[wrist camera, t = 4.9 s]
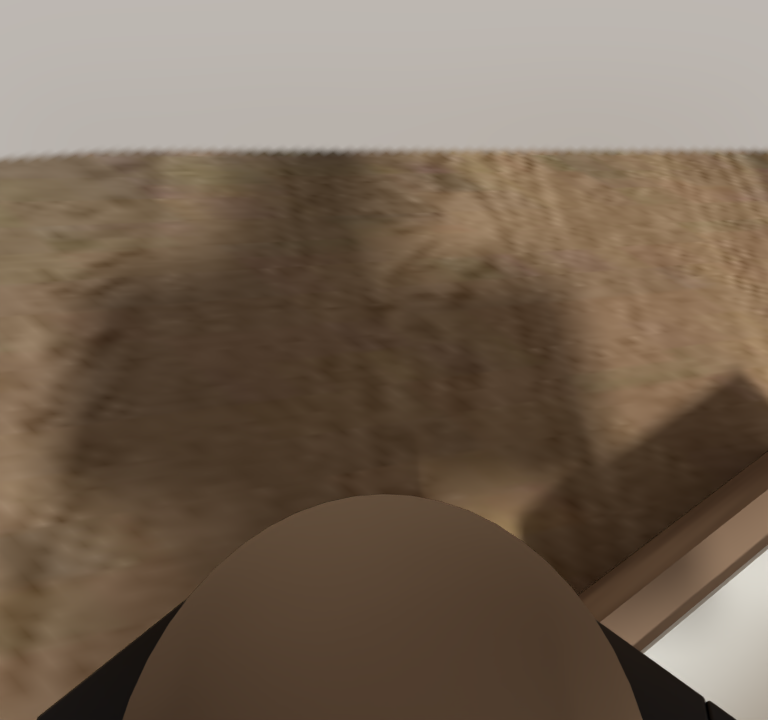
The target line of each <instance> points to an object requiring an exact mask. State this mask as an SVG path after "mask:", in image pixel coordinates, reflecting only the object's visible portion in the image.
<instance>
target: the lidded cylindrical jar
mask: <svg viewBox="0 0 768 720" xmlns="http://www.w3.org/2000/svg"><path fill="white" fill-rule="evenodd" d="M123 720H643V719H642V716H641V714H640V711H639V708H638V705H637V702H636V700H635V697H634V694H633V691H632V688H631V686H630V683H629V681H628V679H627V677H626V675H625V673H624V671H623V669H622V666H621V664H620V662H619V660H618V658H617V656H616V654H615V652H614V650H613V648H612V646H611V644H610V643H609V641H608V639H607V638H606V636H605V634H604V633H603V631H602V630H601V628H600V626H599V625H598V623H597V621H596V620H595V618H594V616H593V615H592V614H591V612H590V611H589V610H588V608H587V607H586V606H585V604H584V603H583V602H582V600H581V599H580V598H579V597H578V595H577V594H576V593H575V591H574V590H573V589H572V587H571V586H570V585H569V584H568V583H567V582H566V581H565V580H564V579H563V578H562V577H561V576H560V575H559V574H558V573H557V572H556V570H555V569H554V568H553V567H552V566H551V565H550V564H549V563H548V562H547V561H546V560H544V559H543V558H542V557H541V556H540V555H538V554H537V553H536V552H535V551H534V550H532V549H531V548H530V547H529V546H528V545H526V544H525V543H524V542H523V541H521V540H520V539H518V538H517V537H515V536H514V535H512V534H511V533H509V532H508V531H506V530H505V529H503V528H502V527H500V526H498V525H497V524H495V523H493V522H491V521H489V520H487V519H485V518H483V517H481V516H479V515H477V514H475V513H472V512H470V511H468V510H465V509H462V508H459V507H456V506H453V505H450V504H447V503H444V502H441V501H437V500H431V499H426V498H421V497H416V496H408V495H391V494H378V495H364V496H353V497H349V498H344V499H339V500H334V501H330V502H325V503H322V504H320V505H317V506H314V507H311V508H308V509H306V510H303V511H300V512H297V513H295V514H293V515H291V516H289V517H287V518H285V519H283V520H281V521H279V522H277V523H275V524H273V525H271V526H269V527H268V528H266V529H265V530H263V531H262V532H260V533H259V534H257V535H256V536H254V537H253V538H251V539H250V540H248V541H247V542H245V543H244V544H242V545H241V546H240V547H239V548H238V549H236V550H235V551H234V552H233V553H232V554H231V555H229V556H228V557H227V558H226V559H225V560H224V561H222V562H221V563H220V564H219V565H218V566H217V567H216V568H215V569H214V570H213V571H212V572H211V573H210V574H209V575H208V576H207V577H206V578H205V579H204V580H203V582H202V583H201V584H200V585H199V586H198V587H197V588H196V589H195V590H194V591H193V592H192V593H191V595H190V596H189V597H188V599H187V600H186V601H185V603H184V604H183V605H182V607H181V608H180V609H179V611H178V612H177V614H176V615H175V616H174V618H173V619H172V620H171V622H170V623H169V624H168V626H167V628H166V629H165V631H164V633H163V634H162V636H161V638H160V639H159V641H158V643H157V645H156V646H155V648H154V650H153V651H152V653H151V655H150V656H149V658H148V660H147V662H146V664H145V666H144V669H143V671H142V673H141V675H140V677H139V679H138V682H137V684H136V686H135V688H134V690H133V693H132V695H131V697H130V699H129V702H128V705H127V708H126V711H125V714H124V717H123Z"/></svg>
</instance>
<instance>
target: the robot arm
mask: <svg viewBox="0 0 768 720" xmlns="http://www.w3.org/2000/svg"><path fill="white" fill-rule="evenodd" d="M187 599H188V598H187ZM187 599H186V600H187ZM186 600H185V601H186ZM185 601H183V602H182V603H181V604H180V605H178V606H177V607H176V608H174V609H173V610H172V611H171V612H169V613H168V614H167V615H166V616H164V617H163V618H162V619H161V620H159V621H158V622H157V623H156V624H154V625H153V626H152V627H151V628H149V629H148V630H147V631H146V632H144V633H143V634H142V635H141V636H139V637H138V638H137V639H135V640H134V641H133V642H132V643H130V644H129V645H128V646H127V647H125V648H124V649H123V650H122V651H120V652H119V653H118V654H117V655H115V656H114V657H113V658H112V659H110V660H109V661H108V662H107V663H105V664H104V665H103V666H102V667H100V668H99V669H98V670H96V671H95V672H94V673H93V674H91V675H90V676H89V677H88V678H86V679H85V680H84V681H83V682H81V683H80V684H79V685H78V686H76V687H75V688H74V689H73V690H71V691H70V692H69V693H68V694H66V695H65V696H64V697H63V698H61V699H60V700H59V701H57V702H56V703H55V704H54V705H52V706H51V707H50V708H49V709H47V710H46V711H45V712H44V713H42V714H41V715H40V716H39V717H38V718H37V720H123V717H124V714H125V711H126V708H127V705H128V702H129V699H130V697H131V695H132V693H133V690H134V688H135V686H136V684H137V682H138V679H139V677H140V675H141V673H142V671H143V669H144V666H145V664H146V662H147V660H148V658H149V656H150V655H151V653H152V651H153V650H154V648H155V646H156V645H157V643H158V641H159V639H160V638H161V636H162V634H163V633H164V631H165V629H166V628H167V626H168V624H169V623H170V622H171V620H172V619H173V618H174V616H175V615H176V614H177V612H178V611H179V609H180V608H181V607H182V605H183V604H184V603H185ZM595 620H596V619H595ZM596 621H597V620H596ZM597 623H598V625H599V626H600V628H601V630H602V631H603V633H604V634H605V636H606V638H607V639H608V641H609V643H610V644H611V646H612V648H613V650H614V652H615V654H616V656H617V658H618V660H619V662H620V664H621V666H622V669H623V671H624V673H625V675H626V677H627V679H628V681H629V683H630V686H631V688H632V691H633V694H634V697H635V700H636V702H637V705H638V708H639V711H640V714H641V716H642V719H643V720H737V719H735V718H734V717H732V716H731V715H730V714H728V713H727V712H725V711H724V710H723V709H721V708H720V707H718V706H717V705H716V704H714V703H713V702H711V701H707V702H706V701H705V698H704V697H703V696H702V695H700V694H699V693H698V692H696V691H695V690H693V689H692V688H691V687H689V686H688V685H686V684H685V683H684V682H682V681H681V680H679V679H678V678H677V677H675V676H674V675H672V674H671V673H670V672H668V671H667V670H666V669H664V668H663V667H661V666H660V665H659V664H657V663H656V662H654V661H653V660H652V659H650V658H649V657H647V656H646V655H645V654H643V653H642V652H640V651H639V650H638V649H636V648H635V647H634V646H632V645H631V644H629V643H628V642H627V641H625V640H624V639H622V638H621V637H620V636H618V635H617V634H615V633H614V632H613V631H611V630H610V629H608V628H607V627H606V626H604V625H603V624H601V623H600V622H599V621H597Z"/></svg>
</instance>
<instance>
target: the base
mask: <svg viewBox="0 0 768 720" xmlns="http://www.w3.org/2000/svg"><path fill="white" fill-rule="evenodd" d="M578 597H579V598H580V599H581V600H582V602H583V603H584V604H585V606H586V607H587V608H588V610H589V611H590V612H591V614H592V615H593V616H594V618H595V619H596V620H597V621H599V622H600V623H601V624H603V625H604V626H606V627H607V628H608V629H610V630H611V631H613V632H614V633H615V634H617V635H618V636H620V637H621V638H622V639H624V640H625V641H627V642H628V643H629V644H631V645H632V646H634V647H635V648H636V649H638V650H639V651H640V652H642V653H643V654H645V655H646V656H647V657H649V658H650V659H652V660H653V661H654V662H656V663H657V664H659V665H660V666H661V667H663V668H664V669H666V670H667V671H668V672H670V673H671V674H672V675H674V676H675V677H677V678H678V679H679V680H681V681H682V682H684V683H685V684H686V685H688V686H689V687H691V688H692V689H693V690H695V691H696V692H698V693H699V694H700V695H702V696H703V697H704V698H705V701H706V702H707V701H711V702H713V703H714V704H716V705H717V706H718V707H720V708H721V709H723V710H724V711H725V712H727V713H728V714H730V715H731V716H732V717H734V718H735V719H737V720H768V452H767V453H765V454H764V455H763V456H761V457H760V458H759V459H757V460H756V461H755V462H753V463H752V464H751V465H749V466H748V467H747V468H745V469H744V470H743V471H742V472H740V473H739V474H738V475H736V476H735V477H734V478H732V479H731V480H730V481H728V482H727V483H726V484H724V485H723V486H722V487H720V488H719V489H718V490H717V491H715V492H714V493H713V494H711V495H710V496H709V497H707V498H706V499H705V500H703V501H702V502H701V503H699V504H698V505H697V506H696V507H694V508H693V509H692V510H690V511H689V512H688V513H686V514H685V515H684V516H682V517H681V518H680V519H678V520H677V521H676V522H674V523H673V524H672V525H671V526H669V527H668V528H667V529H665V530H664V531H663V532H661V533H660V534H659V535H657V536H656V537H655V538H653V539H652V540H651V541H650V542H648V543H647V544H646V545H644V546H643V547H642V548H640V549H639V550H638V551H636V552H635V553H634V554H632V555H631V556H630V557H628V558H627V559H626V560H625V561H623V562H622V563H621V564H619V565H618V566H617V567H615V568H614V569H613V570H611V571H610V572H609V573H607V574H606V575H605V576H603V577H602V578H601V579H600V580H598V581H597V582H596V583H594V584H593V585H592V586H590V587H589V588H588V589H586V590H585V591H584V592H582V593H581V594H580V595H579V596H578Z"/></svg>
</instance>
